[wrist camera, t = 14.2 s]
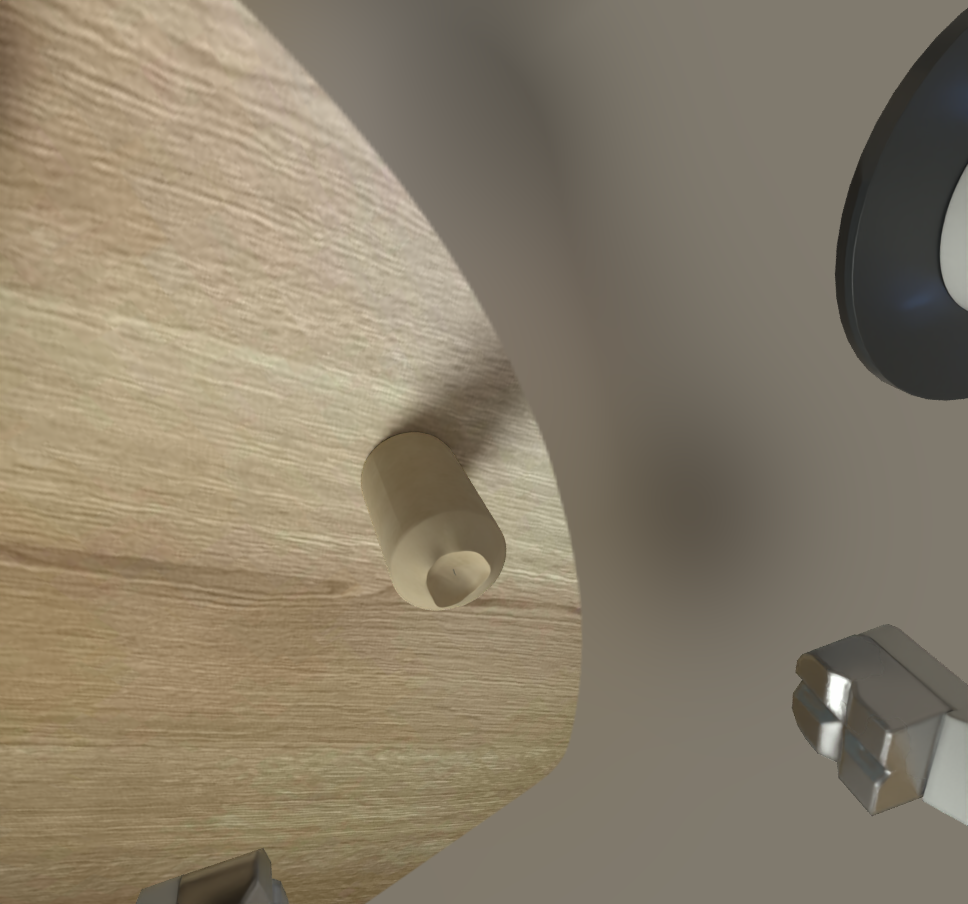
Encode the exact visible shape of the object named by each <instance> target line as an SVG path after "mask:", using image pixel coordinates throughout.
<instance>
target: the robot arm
mask: <svg viewBox="0 0 968 904" xmlns="http://www.w3.org/2000/svg"><path fill="white" fill-rule="evenodd" d="M940 265H941V272H942V277H943V281H944V283H945V286H946V288H947V291H948V292H949V294H950V296H951V297H952V298H953V300H954V301H955V302H956V303H957V304H958V305H959V306H961V307H962V308H964V309H965V310H967V311H968V164H967V166H966V168H965V170H964V172H963V173H962V175H961V177H960V179H959V181H958V183H957V186H956V188H955V190H954V193H953V195H952V198H951V200H950V203H949V206H948V209H947V213H946V216H945V220H944V224H943V229H942V235H941V244H940ZM796 673H797V674H798V676H799V677H800V678H801V679H802V681H801V683H800V684H799V686H798V687H797V688H796V690H795V691H794V692H793V702H792V703H793V704H792V709H793V713H794V716H795V719H796V722H797V725H798V727H799V729H800V730H801V732H802V733H803V735H804V737H805V739H806V740H807V741H808V742H809V744H810V745H811V746H812V747H813V748H814V750H815V751H816V752H817V753H818V754H820V755H823V756H825V757H827V758H829V759H831V760H834V761H836V762H837V768H838V777H839V779H840V780H841V781H842V782H843V783H844V785H845V786H846V787H847V788H848V789H849V790H850V792H851V793H852V794H853V795H854V796H855V797H856V798H857V800H858V801H859V802H860V803H861V804H862V805H863V807H864V808H865V809H866V810H867V811H868V812H869V813H870V815H871V816H874V815H876V814H879V813H882V812H884V811H887V810H890V809H892V808H895V807H898V806H900V805H903V804H906V803H908V802H911V801H913V800H916V799H919V798H921V797H923V801H924V802H926V803H927V804H929V805H931V806H933V807H935V808H936V809H938V810H940V811H942V812H944V813H945V814H947V815H949V816H951V817H953V818H954V819H956V820H958V821H960V822H962V823H963V824H965V825H967V826H968V685H967V684H966V683H965V682H964V681H962V680H961V679H960V678H959V677H957V676H956V675H955V674H954V673H953V672H951V671H950V670H949V669H948V668H947V667H945V666H944V665H943V664H942V663H940V662H939V661H938V660H937V659H936V658H934V657H933V656H932V655H930V654H929V653H928V652H927V651H926V650H925V649H923V648H922V647H921V646H920V645H919V644H917V643H916V642H915V641H914V640H912V639H911V638H910V637H909V636H908V635H906V634H905V633H904V632H902V630H900V629H899V628H897V627H895V626H892V625H889V624H887V625H882V626H879V627H876V628H874V629H871V630H869V631H867V632H863V633H861V634H858V635H852V636H849V637H847V638H844V639H841V640H839V641H836V642H833V643H831V644H828V645H826V646H823V647H820V648H818V649H815V650H812V651H810V652H807V653H804V654H802V655H801V657H800V658H799V659H798V660H797V666H796ZM136 904H289V902H288V899H287V896H286V892H285V890H284V888H283V886H282V884H281V881H278V880H275V879H272V871H271V861H270V859H269V857H268V855H267V854H266V852H265V850H264V848H261V849H258V850H255V851H252V852H250V853H247V854H244V855H241V856H238V857H235V858H232V859H229V860H226V861H223V862H220V863H217V864H214V865H211V866H208V867H205V868H202V869H199V870H196V871H193V872H190V873H187V874H183V875H181V876H178V877H175V878H172V879H169V880H166V881H164V882H161V883H158V884H155V885H152V886H150V887H147V888H144V889H142V890H141V892H140V894H139V897H138V899H137V902H136Z"/></svg>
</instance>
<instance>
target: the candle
mask: <svg viewBox="0 0 968 904" xmlns="http://www.w3.org/2000/svg"><path fill="white" fill-rule="evenodd" d="M361 488H362V493H363V496H364V500H365V503H366V506H367V509H368V512H369V515H370V518H371V521H372V524H373V527H374V530H375V533H376V536H377V539H378V542H379V545H380V548H381V551H382V554H383V557H384V560H385V563H386V566H387V569H388V572H389V575H390V577H391V580H392V583H393V586H394V588H395V589H396V591H397V593H398V594H399V595H400V596H401V597H402V598H403V599H404V600H405V601H406V602H408V603H410V604H411V605H413V606H416V607H418V608H422V609H426V610H448V609H453V608H457V607H460V606H463V605H465V604H468V603H470V602H471V601H473V600H475V599H476V598H478V597H479V596H481V595H482V594H483V593H484V592H486V591H487V590H488V589H489V588H490V587H491V586H492V584H493V583H494V582H495V581H496V579H497V578H498V576H499V574H500V573H501V570H502V568H503V565H504V562H505V558H506V543H505V539H504V536H503V534H502V532H501V530H500V528H499V527H498V525H497V523H496V522H495V520H494V518H493V517H492V515H491V514H490V512H489V510H488V509H487V507H486V505H485V504H484V502H483V501H482V499H481V497H480V496H479V494H478V493H477V491H476V489H475V488H474V486H473V484H472V483H471V481H470V480H469V478H468V476H467V475H466V473H465V471H464V470H463V468H462V467H461V465H460V463H459V462H458V460H457V459H456V457H455V456H454V454H453V453H452V451H451V450H450V448H449V447H448V446H447V445H446V444H445V443H443V442H442V441H441V440H440V439H438V438H436V437H434V436H432V435H429V434H426V433H420V432H408V433H402V434H398V435H395V436H393V437H391V438H389V439H387V440H385V441H383V442H382V443H381V444H379V445H378V446H377V447H376V448H375V449H374V450H373V451H372V452H371V454H370V455H369V456H368V458H367V460H366V462H365V464H364V466H363V470H362V474H361Z"/></svg>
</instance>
